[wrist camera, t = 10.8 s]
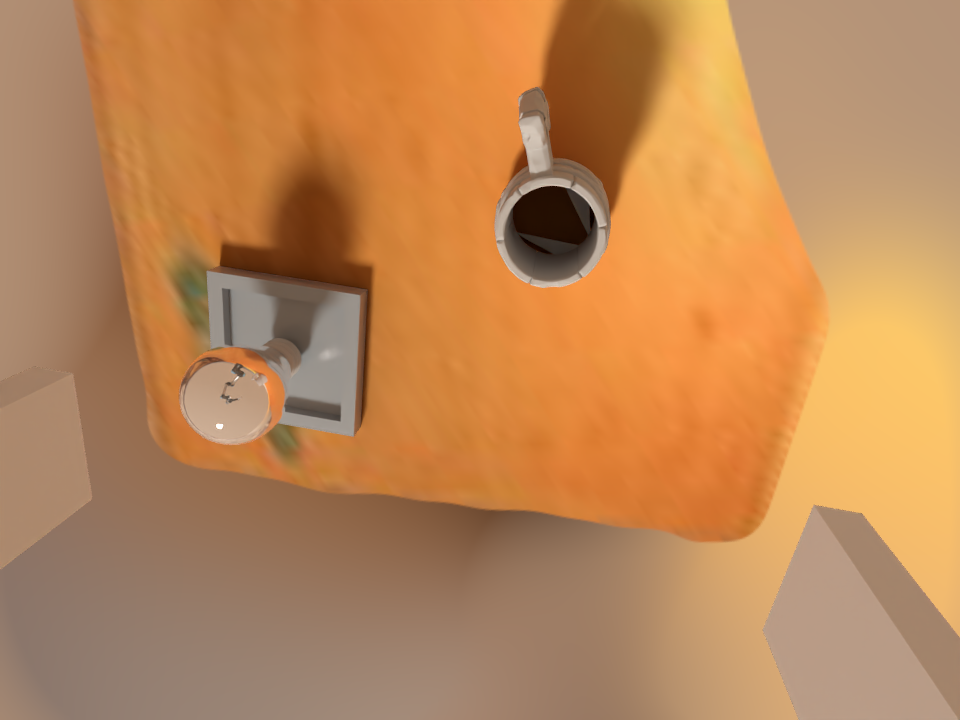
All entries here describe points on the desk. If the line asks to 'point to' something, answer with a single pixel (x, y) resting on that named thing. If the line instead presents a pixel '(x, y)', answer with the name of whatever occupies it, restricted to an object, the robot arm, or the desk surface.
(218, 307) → the dish
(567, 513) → the desk surface
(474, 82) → the desk surface
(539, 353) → the desk surface
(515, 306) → the desk surface
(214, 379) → the light bulb
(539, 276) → the mug
